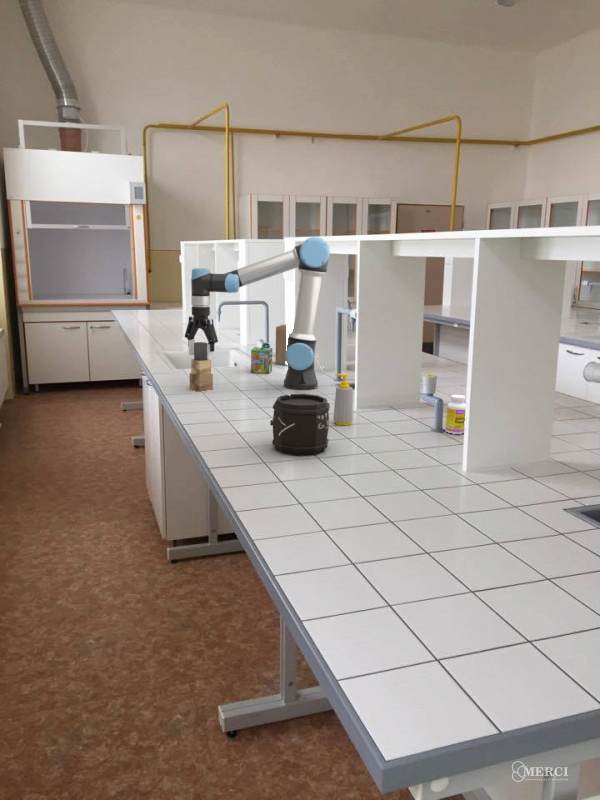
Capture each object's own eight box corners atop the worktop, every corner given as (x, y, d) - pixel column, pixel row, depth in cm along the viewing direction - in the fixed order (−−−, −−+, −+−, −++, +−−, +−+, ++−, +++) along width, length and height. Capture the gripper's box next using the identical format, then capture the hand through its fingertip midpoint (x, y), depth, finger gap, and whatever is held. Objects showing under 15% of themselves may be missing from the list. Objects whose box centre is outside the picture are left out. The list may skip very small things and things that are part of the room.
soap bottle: (332, 420, 244) (334, 371, 240) (352, 421, 244) (354, 372, 240) (333, 425, 237) (334, 375, 233) (352, 426, 237) (355, 376, 233)
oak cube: (211, 373, 288) (211, 359, 286) (199, 375, 283) (199, 361, 282) (202, 371, 292) (202, 357, 290) (191, 373, 287) (191, 359, 286)
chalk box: (254, 370, 336) (254, 340, 333) (272, 371, 335) (272, 341, 332) (250, 373, 327) (250, 343, 324) (268, 374, 326) (269, 344, 323)
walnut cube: (212, 390, 289) (212, 373, 287) (199, 392, 284) (199, 375, 283) (202, 387, 294) (202, 371, 292) (189, 389, 289) (189, 373, 287)
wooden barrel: (274, 438, 220) (275, 391, 216) (329, 441, 218) (331, 394, 214) (266, 455, 202) (267, 404, 199) (326, 458, 201) (328, 407, 197)
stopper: (210, 359, 286) (210, 343, 285) (199, 361, 282) (199, 344, 281) (201, 357, 290) (201, 341, 288) (191, 359, 286) (191, 342, 285)
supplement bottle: (453, 435, 228) (455, 398, 225) (441, 430, 234) (444, 394, 231) (469, 434, 231) (472, 397, 228) (457, 429, 237) (460, 393, 234)
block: (274, 364, 352) (275, 326, 348) (280, 361, 361) (281, 324, 357) (293, 366, 349) (293, 327, 345) (298, 363, 359) (299, 325, 354)
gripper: (226, 308, 275) (226, 360, 280) (190, 303, 292) (191, 352, 297) (211, 309, 270) (212, 361, 275) (176, 304, 287) (176, 354, 292)
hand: (201, 357), depth 286 cm, fingers open, 12 cm apart
